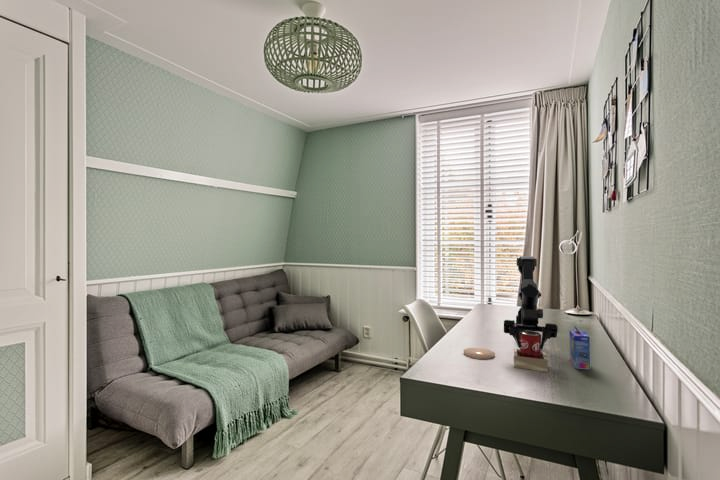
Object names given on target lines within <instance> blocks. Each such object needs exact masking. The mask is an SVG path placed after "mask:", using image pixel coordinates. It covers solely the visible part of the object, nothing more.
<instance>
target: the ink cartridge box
mask: <svg viewBox="0 0 720 480" xmlns="http://www.w3.org/2000/svg"><path fill="white" fill-rule="evenodd" d="M573 327H574V328H575V329H569V361H570V364H571V365H572V367H573V369H579V370H587V371H590V370H591V342H590V341H591V337H590V335H589V334H588V333H587V332H586V331H585V330H579V329H578V328H577V326H576V325H573Z"/></svg>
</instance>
